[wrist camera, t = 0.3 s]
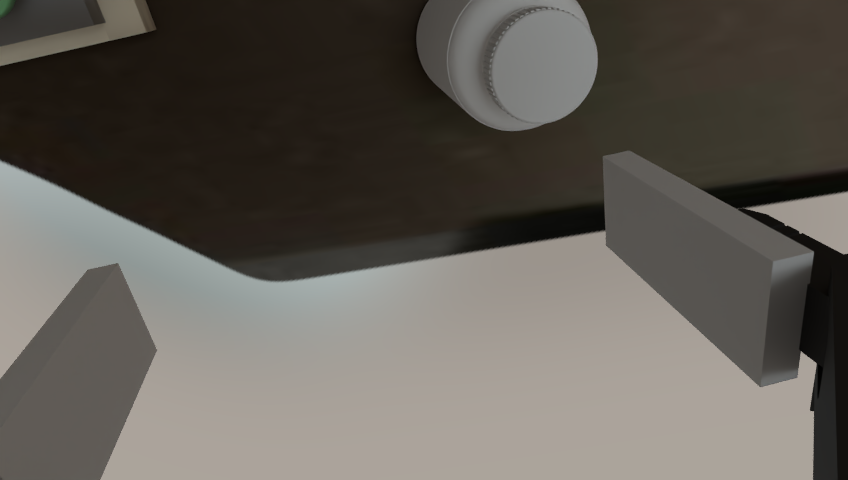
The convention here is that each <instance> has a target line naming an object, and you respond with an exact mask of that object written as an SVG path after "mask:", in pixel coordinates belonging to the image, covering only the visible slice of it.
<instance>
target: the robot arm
mask: <svg viewBox="0 0 848 480" xmlns="http://www.w3.org/2000/svg"><path fill="white" fill-rule="evenodd" d="M603 174H604V200H605V226H606V246H607V247H609V248H610V249H611V250H612V251H613V252H614V253H615V254H616V255H617V256H618V257H619V258H620V259H622V260H623V261H624V262H625V263H626V264H627V265H628V266H629V267H630V268H631V269H632V270H634V271H635V272H636V273H637V274H638V275H639V276H640V277H641V278H642V279H643V280H644V281H646V282H647V283H648V284H649V285H650V286H651V287H652V288H653V289H654V290H655V291H656V292H657V293H659V294H660V295H661V296H662V297H663V298H664V299H665V300H666V301H667V302H668V303H669V304H670V305H672V306H673V307H674V308H675V309H676V310H677V311H678V312H679V313H680V314H681V315H682V316H684V317H685V318H686V319H687V320H688V321H689V322H690V323H691V324H692V325H693V326H694V327H696V328H697V329H698V330H699V331H700V332H701V333H702V334H703V335H704V336H705V337H706V338H707V339H709V340H710V341H711V342H712V343H713V344H714V345H715V346H716V347H717V348H718V349H719V350H721V351H722V352H723V353H724V354H725V355H726V356H727V357H728V358H729V359H730V360H731V361H732V362H734V363H735V364H736V365H737V366H738V367H739V368H740V369H741V370H743V372H744V373H745V374H747V375H748V376H749V377H750V378H751V379H752V380H753V381H754V382H755V383H756V384H758V385H759V386H760V387H763V386H767V385H770V384H774V383H778V382H782V381H786V380H790V379H794V378H797V375H798V368H799V360H800V353H801V351H802V352H803V353H804V354H805V355H807V356H808V357H810V358H811V359H812V360H813V361H815V362H816V363H817V367H816V374H815V380H814V387H813V393H812V400H811V407H810V411H814V461H813V465H814V466H813V480H848V254H844V255H843V254H841V253H839V252H838V251H836V250H834V249H832V248H830V247H828V246H826V245H824V244H822V243H820V242H818V241H816V240H815V239H813V238H811V237H809V236H807V235H805V234H803V233H802V234H799V231H797V230H795V229H793V228H791V227H789V226H785V225H784V223H782V222H780V221H778V220H776V219H774V218H772V217H770V216H769V215H767V214H763V213H759V212H755V211H751V210H747V209H743V208H742V209H738V210H737V209H735V208H733V207H731V206H730V205H728V204H726V203H724V202H722V201H720V200H719V199H717V198H715V197H713V196H711V195H709V194H708V193H706V192H704V191H702V190H700V189H699V188H697V187H695V186H693V185H691V184H689V183H688V182H686V181H684V180H682V179H680V178H678V177H677V176H675V175H673V174H671V173H669V172H667V171H666V170H664V169H662V168H660V167H658V166H656V165H655V164H653V163H651V162H649V161H647V160H645V159H644V158H642V157H640V156H638V155H636V154H634V153H633V152H631V151H625V152H621V153H616V154H612V155H607V156H603ZM156 351H157V349H156V347H155V345H154V343H153V340H152V338H151V336H150V334H149V331H148V329H147V327H146V325H145V323H144V320H143V318H142V316H141V314H140V311H139V309H138V307H137V305H136V302H135V300H134V298H133V296H132V293H131V291H130V289H129V287H128V285H127V282H126V280H125V278H124V276H123V273H122V271H121V269H120V267H119V264H118V263H117V264H112V265H108V266H104V267H99V268H94V269H90V270H87V271H86V273H85V274H84V275H83V276H82V278H81V279H80V280H79V281H78V283H77V284H76V285H75V286H74V288H73V289H72V290H71V291H70V293H69V294H68V295H67V296H66V298H65V299H64V300H63V301H62V303H61V304H60V305H59V306H58V308H57V309H56V310H55V311H54V313H53V314H52V315H51V316H50V318H49V319H48V320H47V321H46V323H45V324H44V325H43V326H42V328H41V329H40V330H39V331H38V333H37V334H36V335H35V336H34V338H33V339H32V340H31V341H30V343H29V344H28V345H27V346H26V348H25V349H24V350H23V352H22V353H21V354H20V355H19V357H18V358H17V359H16V360H15V361H14V363H13V364H12V365H11V366H10V368H9V369H8V370H7V371H6V373H5V374H4V375H3V377H2V378H1V379H0V480H100V479H101V477H102V474H103V472H104V470H105V467H106V465H107V462H108V461H109V458H110V456H111V454H112V451H113V449H114V447H115V445H116V442H117V440H118V438H119V435H120V433H121V431H122V429H123V426H124V424H125V422H126V419H127V417H128V415H129V413H130V410H131V408H132V406H133V403H134V401H135V399H136V397H137V394H138V392H139V390H140V387H141V385H142V383H143V380H144V378H145V376H146V374H147V371H148V369H149V367H150V365H151V362H152V360H153V358H154V355H155V353H156Z"/></svg>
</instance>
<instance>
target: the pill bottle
mask: <svg viewBox="0 0 848 480" xmlns="http://www.w3.org/2000/svg"><path fill="white" fill-rule="evenodd" d="M593 38H594V37H593V35H591V31H590V28H589V24H588V21H587V19H586V16H585V14H584V12H583V10H582V9H581V7H580V5H579V4H578V2H577V1H576V0H429V1H428V2H427V4H426V5H425V7H424V9H423V11H422V13H421V16H420V19H419V22H418V27H417V34H416V44H417V51H418V55H419V59H420V62H421V64H422V66H423V68H424V70H425V72H426V74H427V75H428V77H429V78H430V79H431V80H432V81H433V82H434V83H435V84H436V85H437V86H438V87H439V88H440V89H441V90H442V91H443V92H445V93H446V94H447V95H448V96H449V97H450V98H451V99H452V100H454V101H455V102H456V103H457V104H458V105H459V106H460V107H461V108H462V109H464V110H465V111H466V112H467V113H468V114H469V115H470V116H472V117H473V118H474V119H476V120H477V121H479V122H481V123H483V124H485V125H487V126H489V127H492V128H495V129H499V130H505V131H520V130H526V129H531V128H535V127H538V126H540V125H543V124H546V123H551V122H552V121H553V122H554V121H556V120H559V119H561V118H562V117H565V116H566V115H568V114H570V113H571V112H572V111H574V110H575V108H577V107H578V106H579V105H580V103H582V102H583V100H584V99H585V98H586V96H587V94H588V93H589V91H590V89H591V87H592V84H593V82H594V79H595V76H596V72H597V65H598V63H597V61H598V57H597V55H598V54H597V50H596V49H597V47H596V45H595V40H594V39H593Z"/></svg>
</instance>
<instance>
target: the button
mask: <svg viewBox="0 0 848 480" xmlns="http://www.w3.org/2000/svg"><path fill="white" fill-rule="evenodd" d="M15 1H16V0H0V18H3V17H4V16H6V15H7V14H8V13H9V12H10V11H11V10H12V8H13V6H14V4H15Z"/></svg>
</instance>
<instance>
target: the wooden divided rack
mask: <svg viewBox="0 0 848 480" xmlns="http://www.w3.org/2000/svg"><path fill="white" fill-rule="evenodd" d="M153 30H157V29H156V27H155V24H154V21H153V19H152V16H151V14H150V11H149V8H148V6H147V3H146V0H16V1H15V4H14V6H13V8H12V10H11V11H10V12H9V13H8V14H7V15H6V16H4V17H3V18H0V66H2V65H6V64H11V63H15V62H19V61H24V60H28V59H33V58H37V57H41V56H46V55H50V54H54V53H59V52H63V51H67V50H72V49H76V48H81V47H85V46H89V45H94V44H98V43H102V42H107V41H111V40H116V39H120V38H124V37H129V36H133V35H137V34H142V33H146V32H150V31H153Z"/></svg>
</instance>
